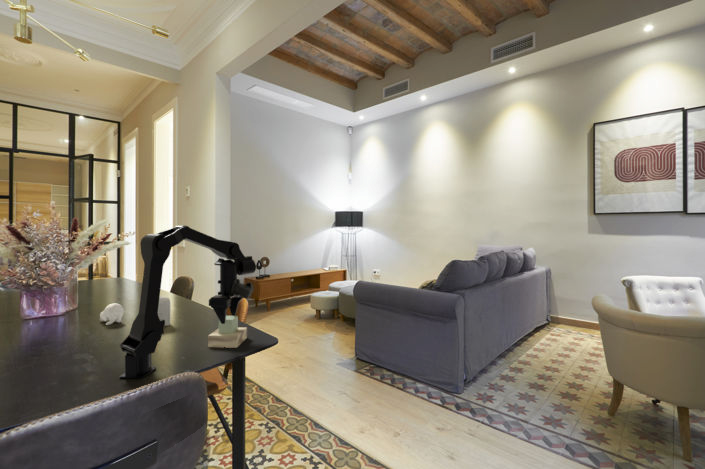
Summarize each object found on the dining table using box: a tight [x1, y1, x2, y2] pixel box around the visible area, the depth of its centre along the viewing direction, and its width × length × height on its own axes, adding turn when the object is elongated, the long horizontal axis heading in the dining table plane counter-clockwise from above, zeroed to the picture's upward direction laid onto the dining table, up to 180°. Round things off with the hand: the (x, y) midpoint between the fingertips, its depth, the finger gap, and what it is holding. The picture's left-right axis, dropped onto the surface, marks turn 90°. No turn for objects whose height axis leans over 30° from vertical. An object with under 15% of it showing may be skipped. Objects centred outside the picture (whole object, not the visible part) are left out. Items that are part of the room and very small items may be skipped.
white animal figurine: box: [99, 302, 125, 326], centre depth 141 cm, size 6×8×12 cm
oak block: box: [207, 326, 248, 349], centre depth 119 cm, size 10×10×4 cm
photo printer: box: [158, 295, 171, 327], centre depth 136 cm, size 10×4×12 cm, turn 123°
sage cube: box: [217, 315, 239, 334], centre depth 118 cm, size 5×5×5 cm
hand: (228, 319), depth 118 cm, fingers open, 9 cm apart
